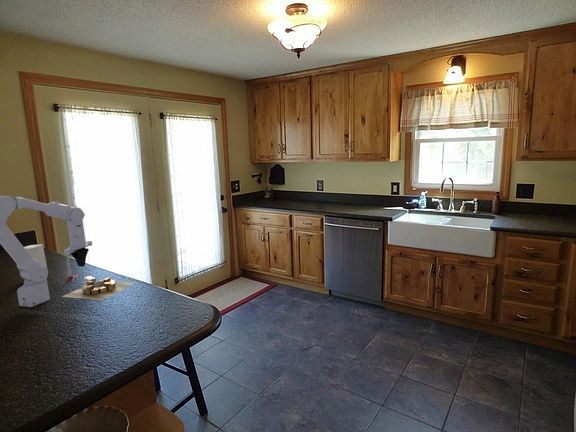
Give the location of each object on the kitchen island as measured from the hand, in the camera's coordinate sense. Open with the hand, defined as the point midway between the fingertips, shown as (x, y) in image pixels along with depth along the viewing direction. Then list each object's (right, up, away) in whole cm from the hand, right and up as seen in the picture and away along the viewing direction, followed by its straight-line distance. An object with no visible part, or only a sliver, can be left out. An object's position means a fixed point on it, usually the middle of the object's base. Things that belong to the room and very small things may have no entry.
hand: (81, 266), depth 152 cm
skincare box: (-33, -8, +19) cm, 39 cm away
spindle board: (+10, -10, -4) cm, 15 cm away
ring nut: (+8, -9, -4) cm, 13 cm away
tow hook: (-9, -8, +14) cm, 19 cm away
